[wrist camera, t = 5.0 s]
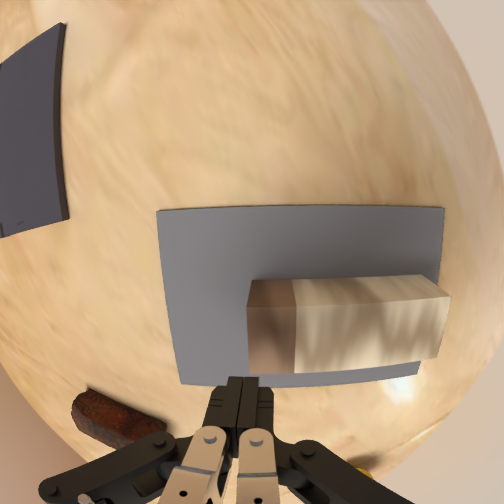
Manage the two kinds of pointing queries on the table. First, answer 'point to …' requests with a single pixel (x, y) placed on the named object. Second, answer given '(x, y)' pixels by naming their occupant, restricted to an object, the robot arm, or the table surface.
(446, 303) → the tall block
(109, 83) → the table surface
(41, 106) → the notebook
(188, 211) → the rubber mat
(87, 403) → the brick
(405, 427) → the table surface
